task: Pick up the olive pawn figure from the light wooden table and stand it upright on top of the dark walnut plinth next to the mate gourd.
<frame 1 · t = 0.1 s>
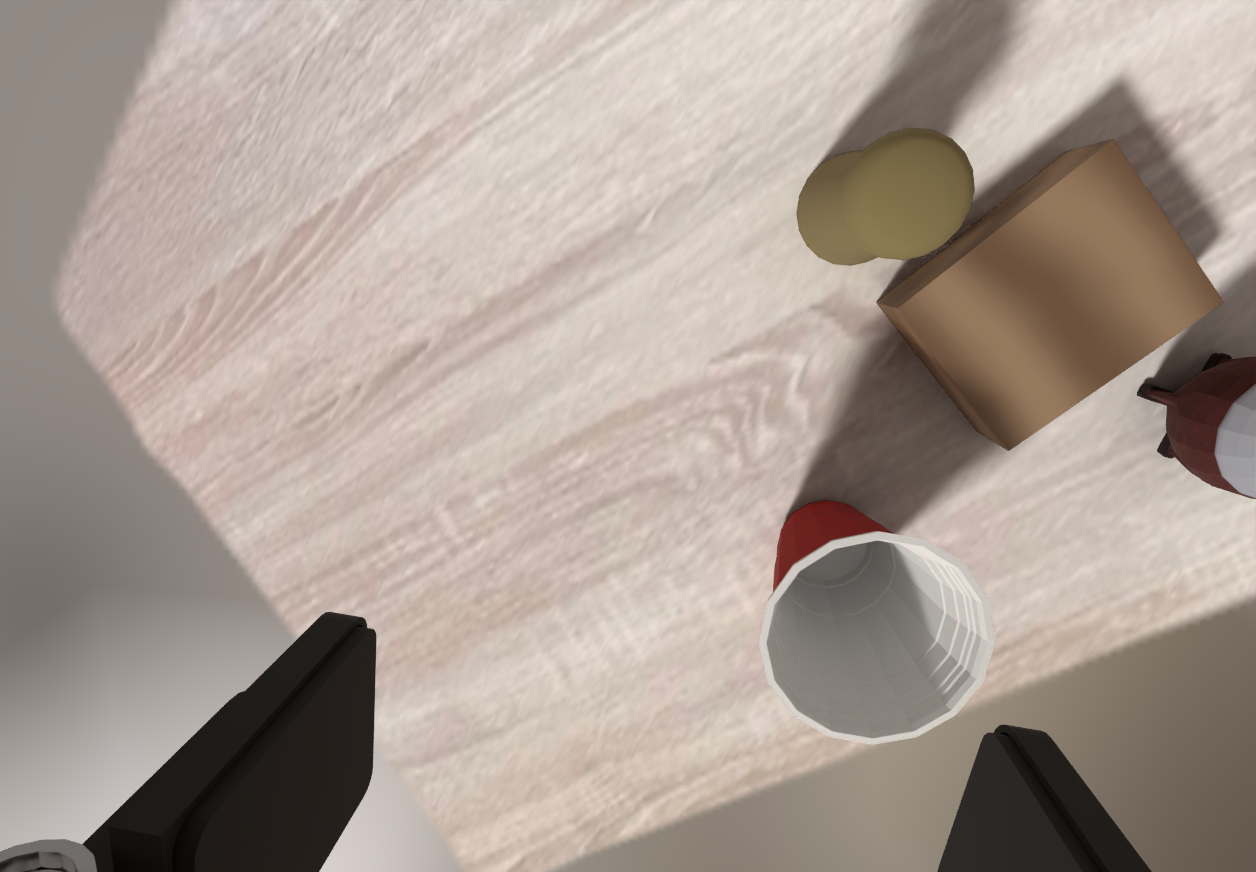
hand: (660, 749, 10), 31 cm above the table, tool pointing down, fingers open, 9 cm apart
olive pawn figure: (851, 209, 37), on the table
plastic cup: (825, 536, 42), on the table
mate gourd: (1195, 398, 38), on the table
walnut plinth: (1018, 299, 37), on the table
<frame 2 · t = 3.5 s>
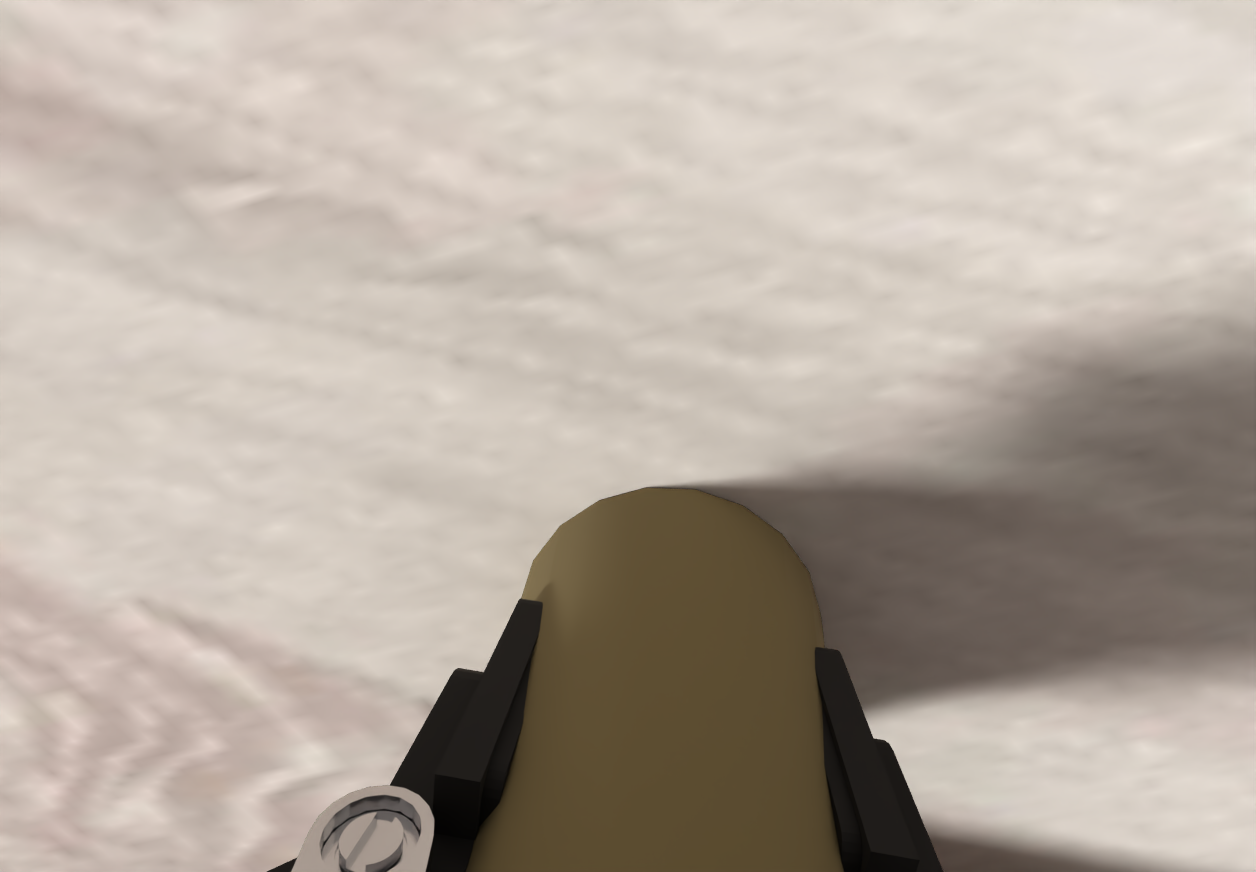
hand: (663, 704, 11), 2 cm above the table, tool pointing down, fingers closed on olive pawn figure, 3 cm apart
olive pawn figure: (667, 623, 13), on the table, touching gripper
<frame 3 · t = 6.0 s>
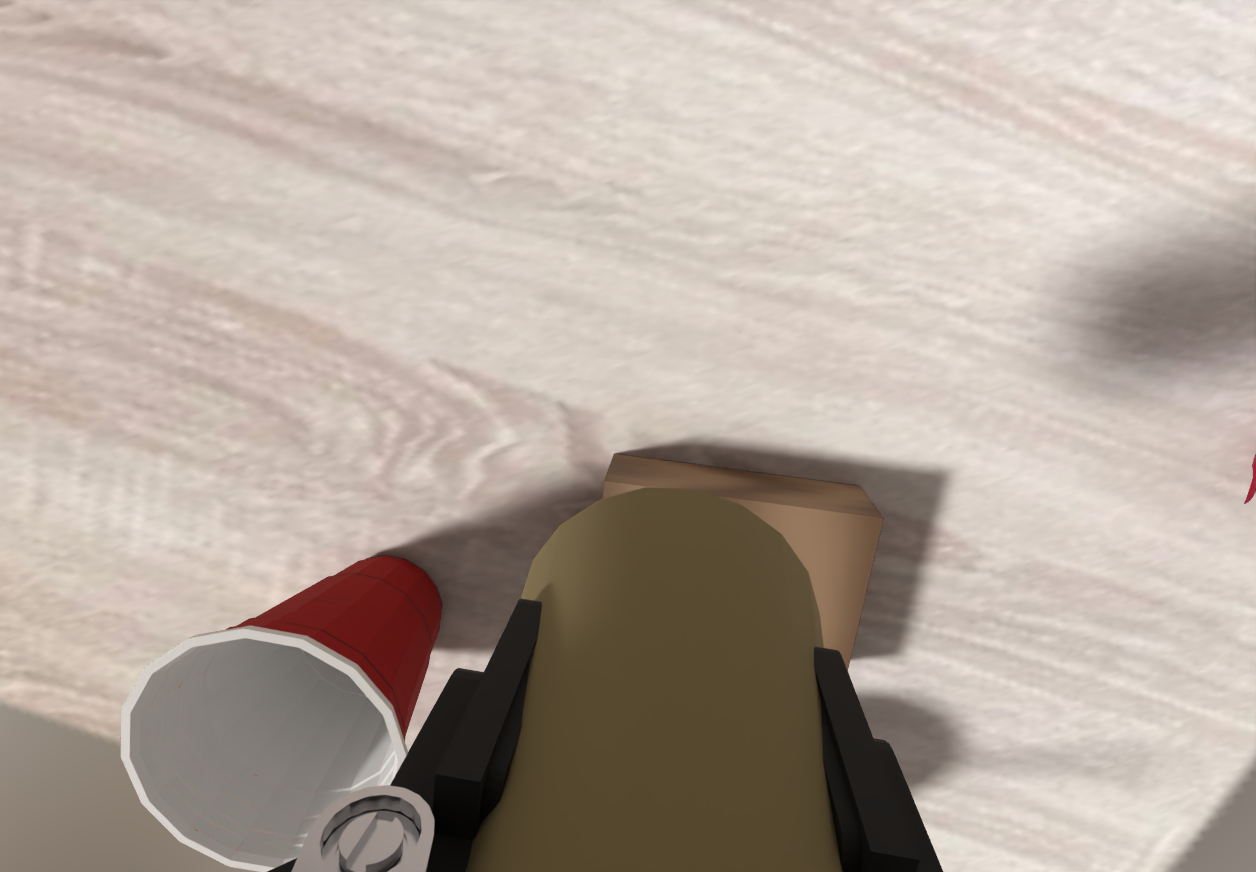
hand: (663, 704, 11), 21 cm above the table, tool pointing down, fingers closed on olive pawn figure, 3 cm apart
olive pawn figure: (667, 622, 13), point 19 cm above the table, touching gripper
plastic cup: (397, 599, 36), on the table
walnut plinth: (720, 562, 33), on the table
when the fingers open (8 cm above the table, at t = 8.8 s): olive pawn figure drops 1 cm, resting on walnut plinth.
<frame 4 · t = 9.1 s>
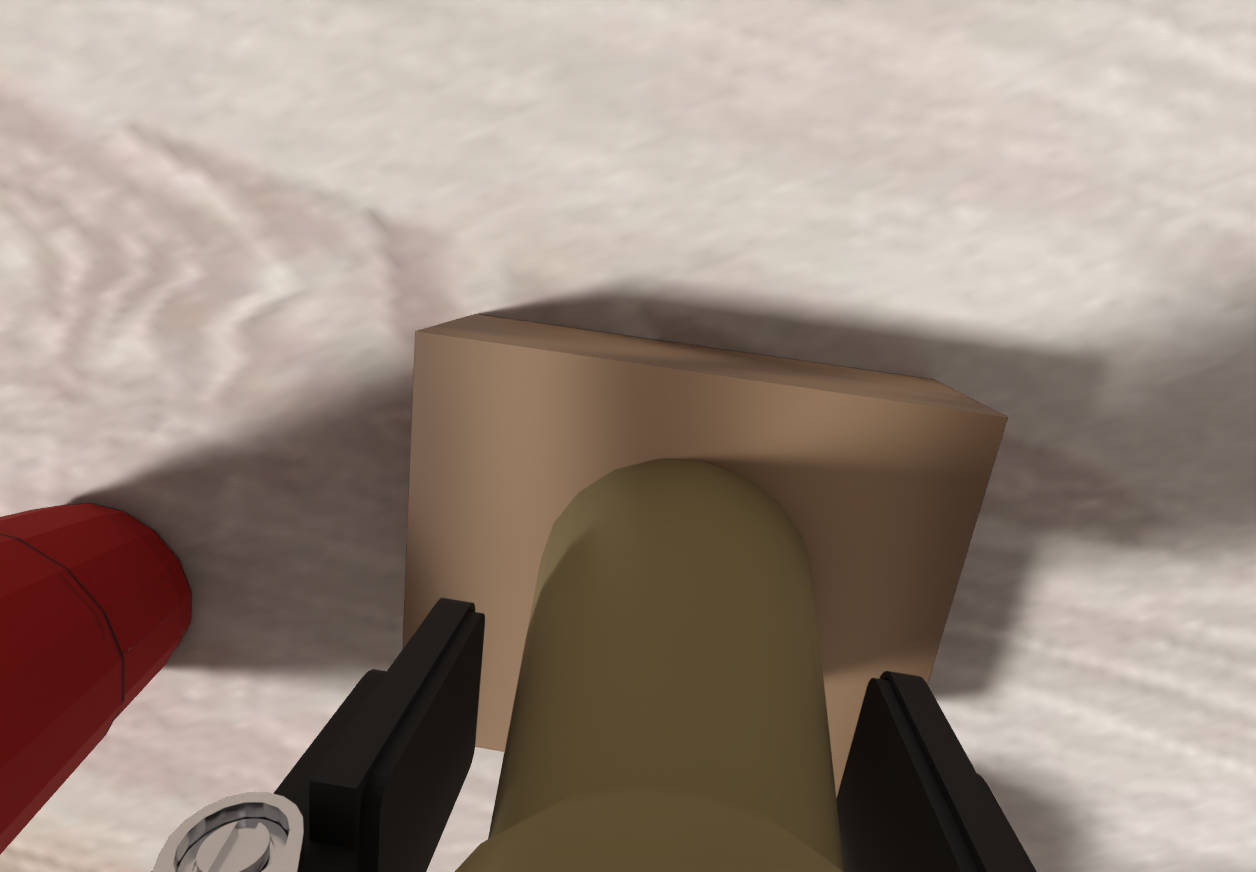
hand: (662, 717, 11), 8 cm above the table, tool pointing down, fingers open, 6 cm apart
olive pawn figure: (673, 583, 15), point 4 cm above the table, touching walnut plinth
plastic cup: (118, 581, 21), on the table
walnut plinth: (672, 522, 18), on the table
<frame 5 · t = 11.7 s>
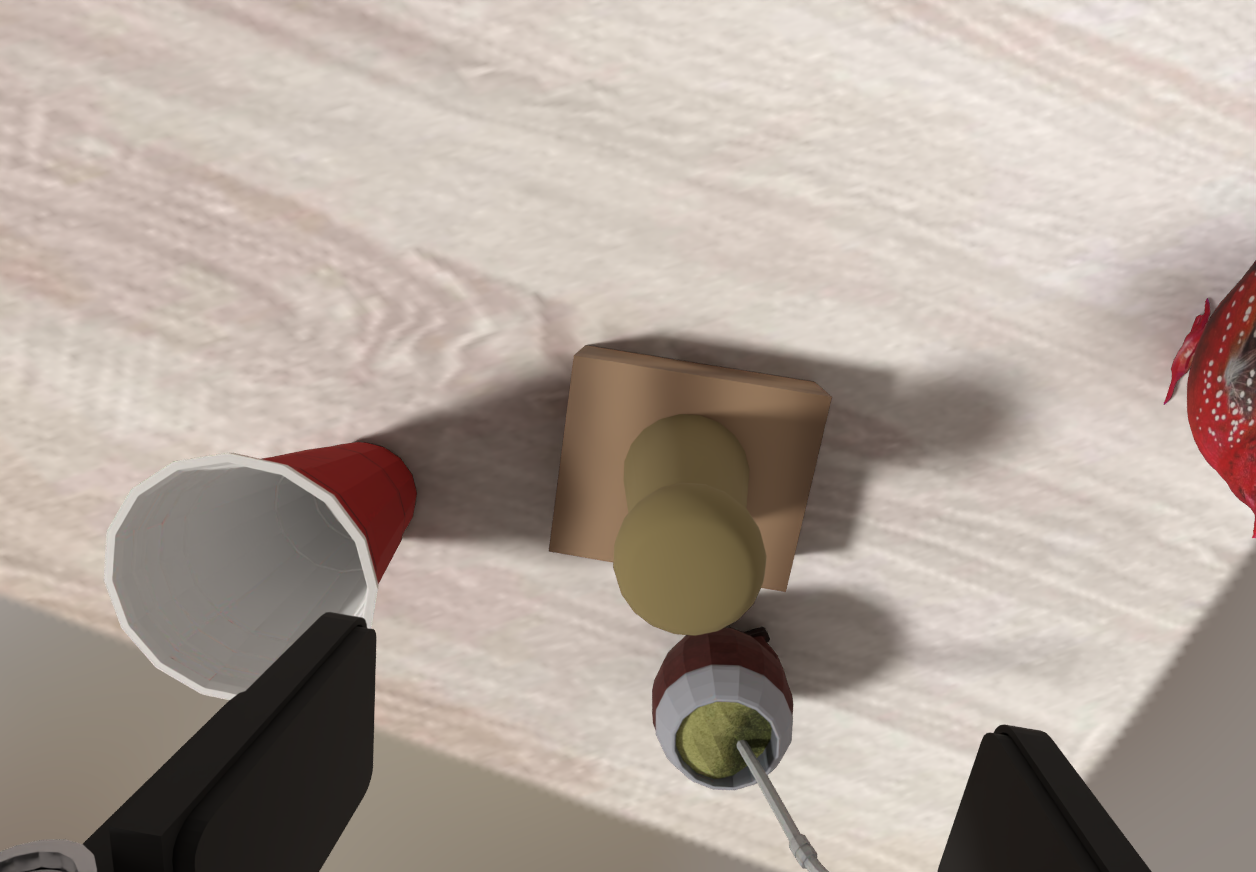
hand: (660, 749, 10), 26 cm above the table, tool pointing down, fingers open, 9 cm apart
olive pawn figure: (685, 473, 32), point 4 cm above the table, touching walnut plinth
plastic cup: (373, 487, 37), on the table
mate gourd: (724, 647, 38), on the table
decorative bird figurine: (1196, 307, 32), on the table
walnut plinth: (683, 454, 35), on the table
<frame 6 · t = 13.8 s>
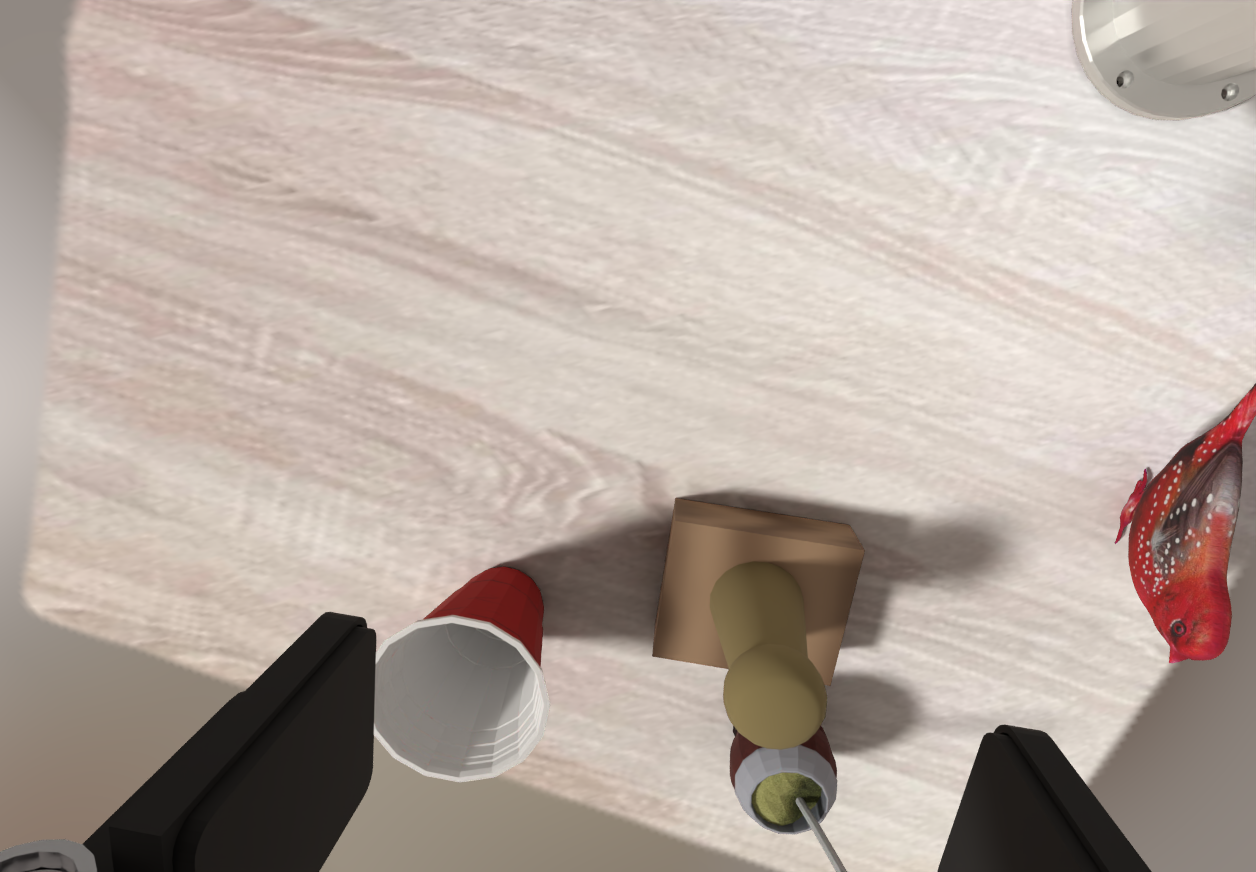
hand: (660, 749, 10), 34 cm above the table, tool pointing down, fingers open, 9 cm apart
olive pawn figure: (755, 602, 43), point 4 cm above the table, touching walnut plinth
plastic cup: (509, 598, 49), on the table
mate gourd: (779, 716, 50), on the table
decorative bird figurine: (1137, 473, 42), on the table
walnut plinth: (748, 576, 46), on the table
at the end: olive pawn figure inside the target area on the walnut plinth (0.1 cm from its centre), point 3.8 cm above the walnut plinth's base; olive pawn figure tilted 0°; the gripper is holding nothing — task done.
